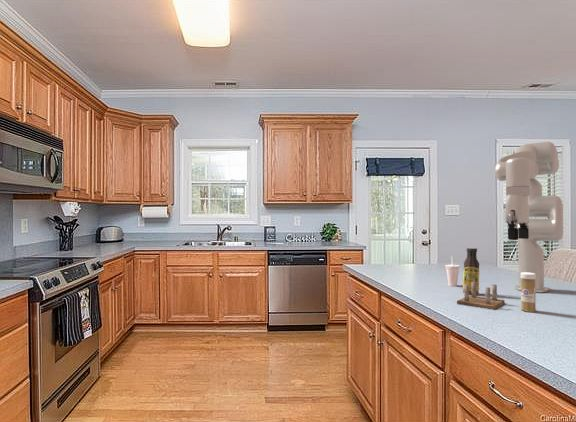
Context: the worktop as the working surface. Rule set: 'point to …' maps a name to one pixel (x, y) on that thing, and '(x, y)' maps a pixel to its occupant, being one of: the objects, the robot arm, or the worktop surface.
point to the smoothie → (452, 273)
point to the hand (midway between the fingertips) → (518, 239)
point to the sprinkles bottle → (528, 292)
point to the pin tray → (481, 298)
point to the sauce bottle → (471, 270)
